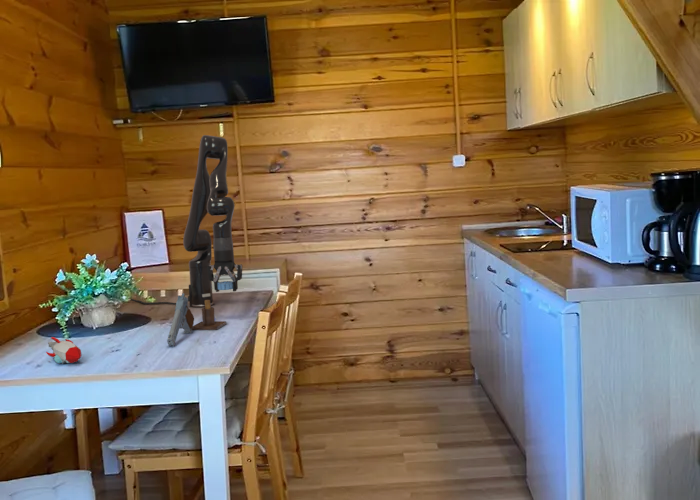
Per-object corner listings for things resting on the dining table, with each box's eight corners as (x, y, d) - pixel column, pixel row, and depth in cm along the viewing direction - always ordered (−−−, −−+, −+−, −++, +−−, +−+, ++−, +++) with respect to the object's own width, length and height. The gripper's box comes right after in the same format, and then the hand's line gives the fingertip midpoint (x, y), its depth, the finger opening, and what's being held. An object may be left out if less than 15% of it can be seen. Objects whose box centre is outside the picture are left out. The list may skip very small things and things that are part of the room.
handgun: (196, 317, 246) (188, 287, 237) (183, 368, 227) (173, 337, 217) (186, 318, 246) (178, 287, 237) (172, 368, 227) (163, 337, 217)
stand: (190, 329, 244) (189, 302, 243) (201, 323, 254) (199, 298, 253) (216, 329, 243) (215, 302, 242) (226, 323, 252) (225, 297, 251)
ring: (215, 290, 258) (214, 283, 258) (221, 287, 264) (220, 281, 264) (231, 289, 257) (230, 283, 257) (236, 287, 263) (236, 280, 263)
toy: (41, 356, 213) (40, 335, 213) (65, 353, 218) (64, 332, 217) (61, 368, 197) (60, 345, 197) (86, 364, 202) (85, 342, 201)
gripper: (244, 247, 261) (247, 289, 263) (209, 248, 264) (212, 290, 266) (237, 249, 254) (240, 292, 256) (202, 250, 257) (205, 293, 258)
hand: (226, 291), depth 261 cm, fingers closed on ring, 6 cm apart
